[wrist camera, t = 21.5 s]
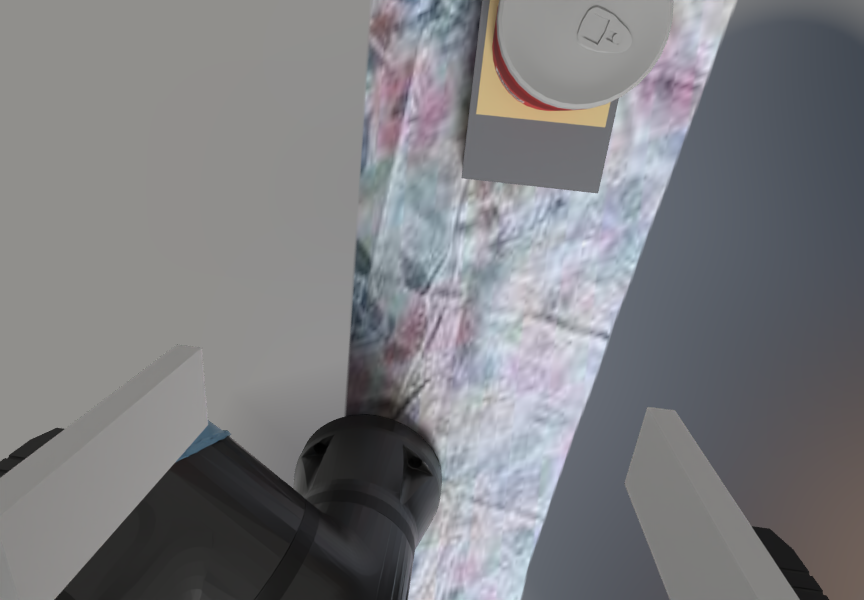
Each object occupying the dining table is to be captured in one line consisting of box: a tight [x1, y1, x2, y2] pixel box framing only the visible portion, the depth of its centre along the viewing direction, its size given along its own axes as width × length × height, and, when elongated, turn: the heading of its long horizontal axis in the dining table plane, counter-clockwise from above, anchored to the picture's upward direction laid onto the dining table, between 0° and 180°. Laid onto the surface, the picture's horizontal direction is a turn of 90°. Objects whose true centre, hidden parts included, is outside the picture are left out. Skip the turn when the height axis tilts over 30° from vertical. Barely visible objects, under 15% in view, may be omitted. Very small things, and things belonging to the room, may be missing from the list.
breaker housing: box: [462, 0, 619, 193], centre depth 33 cm, size 24×10×5 cm, turn 174°
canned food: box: [492, 0, 673, 111], centre depth 27 cm, size 8×8×11 cm
